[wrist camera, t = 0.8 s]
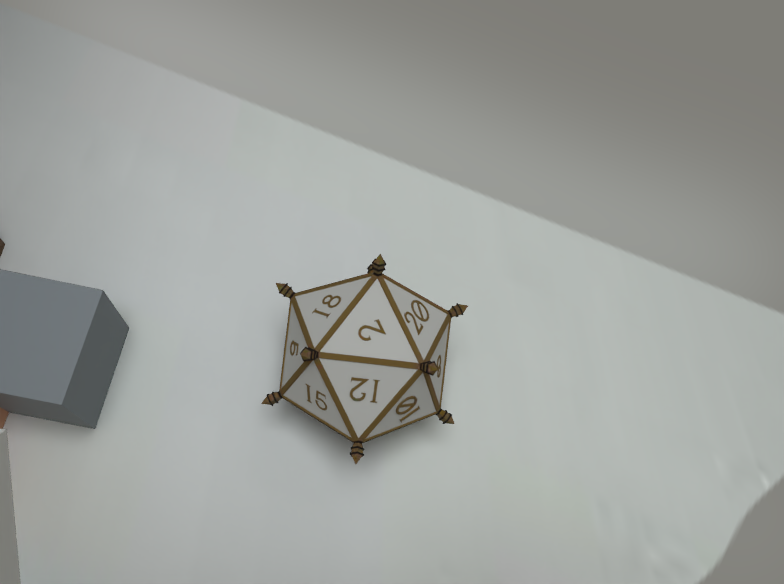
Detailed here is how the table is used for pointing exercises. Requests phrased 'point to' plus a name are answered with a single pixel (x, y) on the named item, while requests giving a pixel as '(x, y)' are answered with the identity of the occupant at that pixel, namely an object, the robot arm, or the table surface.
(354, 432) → the game die
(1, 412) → the terracotta block
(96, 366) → the slate block
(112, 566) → the table surface
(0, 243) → the walnut block
